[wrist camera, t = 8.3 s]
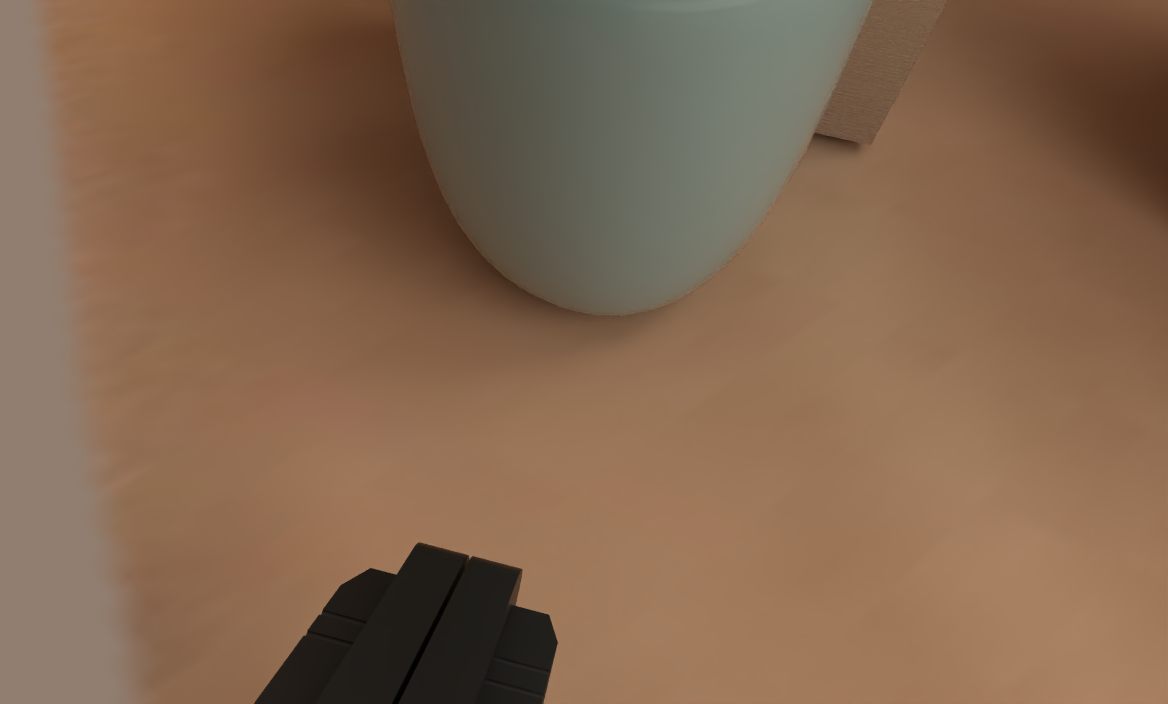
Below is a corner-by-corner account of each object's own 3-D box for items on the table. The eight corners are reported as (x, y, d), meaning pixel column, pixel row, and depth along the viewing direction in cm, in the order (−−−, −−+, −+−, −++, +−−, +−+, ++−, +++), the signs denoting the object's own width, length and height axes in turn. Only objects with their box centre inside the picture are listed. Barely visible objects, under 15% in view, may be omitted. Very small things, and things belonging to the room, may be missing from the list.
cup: (579, 54, 23) (607, -411, 14) (820, 210, 21) (1033, -215, 12) (369, 232, 20) (232, -213, 11) (626, 433, 18) (717, 91, 9)
